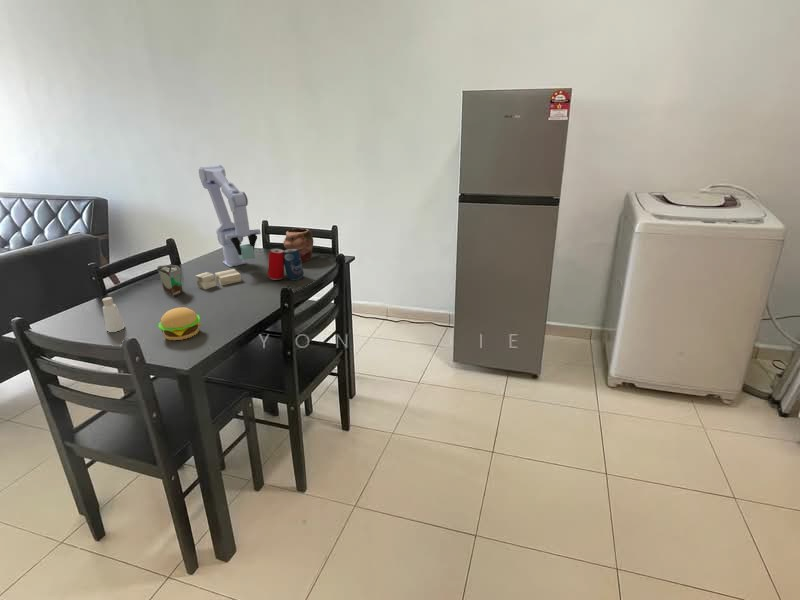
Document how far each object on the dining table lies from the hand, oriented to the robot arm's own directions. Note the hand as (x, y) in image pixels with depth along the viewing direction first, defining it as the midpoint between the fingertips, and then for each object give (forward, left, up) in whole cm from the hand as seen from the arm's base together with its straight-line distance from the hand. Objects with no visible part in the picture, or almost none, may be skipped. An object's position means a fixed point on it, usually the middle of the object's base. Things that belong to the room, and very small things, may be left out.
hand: (246, 253), depth 196 cm
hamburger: (+46, -39, -9) cm, 61 cm away
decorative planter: (-1, +26, -8) cm, 27 cm away
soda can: (+22, +12, -8) cm, 26 cm away
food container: (+5, -31, -8) cm, 33 cm away
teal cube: (0, 0, -2) cm, 2 cm away
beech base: (+6, -11, -9) cm, 15 cm away
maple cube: (+7, -20, -8) cm, 23 cm away
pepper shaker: (+28, -55, -8) cm, 62 cm away
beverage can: (+18, +5, -8) cm, 20 cm away
